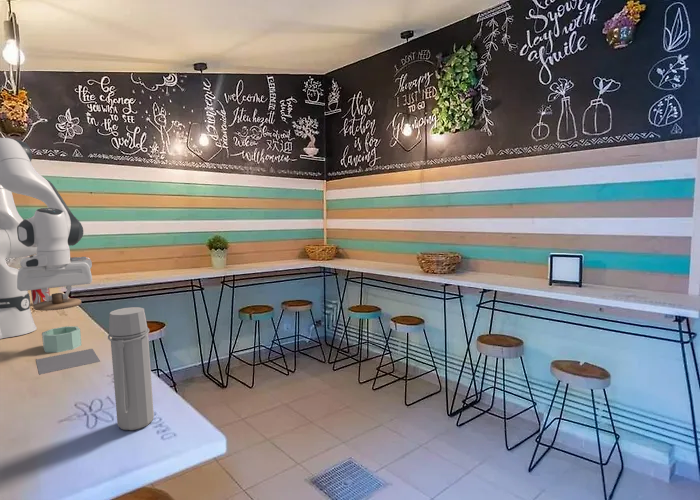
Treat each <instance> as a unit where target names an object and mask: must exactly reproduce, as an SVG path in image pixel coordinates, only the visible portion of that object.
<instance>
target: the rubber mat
mask: <svg viewBox="0 0 700 500" xmlns="http://www.w3.org/2000/svg"><path fill="white" fill-rule="evenodd" d="M35 361H36V367H37V371H38V375H44V374H48V373H53V372H58V371H63V370H68V369H72V368H77V367H81V366H86V365H91V364H97V363H101V360H100V357H98V355H97V353H96V352H95V350H94V349H93V348H88V349H83V350H78V351H72V352H68V353H61V354H58V355H52V356H47V357H43V358H42V357H41V358H37V359H35Z"/></svg>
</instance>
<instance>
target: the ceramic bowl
mask: <svg viewBox="0 0 700 500" xmlns="http://www.w3.org/2000/svg"><path fill="white" fill-rule="evenodd" d="M81 333H82V332H81V328H80V327H79V326H73V325H72V326H69V325H68V326H61V327H56V328H50V329H47V330H46V331H43V332H42V333H41V336H42V345H43V346H42V347H43V350H44V352H45V353H61V352H66V351H71V350H74V349H77V348H79V347H81V346H82V335H81Z"/></svg>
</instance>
